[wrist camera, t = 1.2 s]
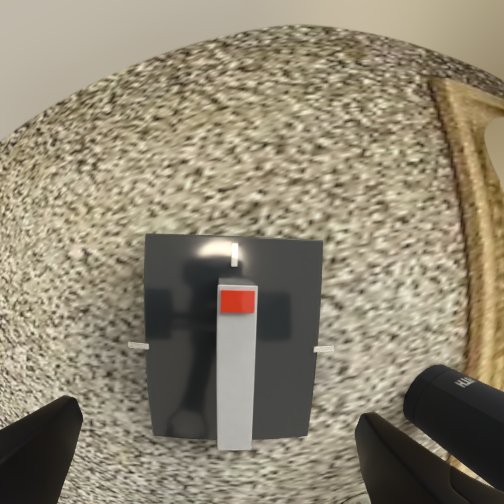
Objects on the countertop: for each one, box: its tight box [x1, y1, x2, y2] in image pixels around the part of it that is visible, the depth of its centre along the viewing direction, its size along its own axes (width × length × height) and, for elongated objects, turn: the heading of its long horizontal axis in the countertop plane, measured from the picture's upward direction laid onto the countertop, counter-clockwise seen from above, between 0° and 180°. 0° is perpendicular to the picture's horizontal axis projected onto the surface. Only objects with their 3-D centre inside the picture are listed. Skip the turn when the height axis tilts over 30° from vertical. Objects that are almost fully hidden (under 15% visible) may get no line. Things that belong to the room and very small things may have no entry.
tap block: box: [128, 234, 334, 440], centre depth 19 cm, size 14×13×3 cm
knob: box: [216, 278, 258, 450], centre depth 15 cm, size 9×2×5 cm, turn 178°
